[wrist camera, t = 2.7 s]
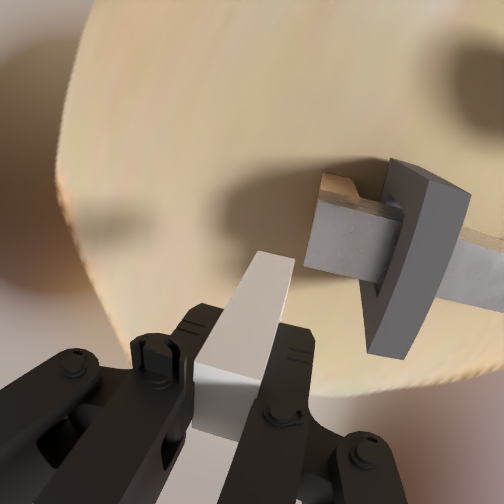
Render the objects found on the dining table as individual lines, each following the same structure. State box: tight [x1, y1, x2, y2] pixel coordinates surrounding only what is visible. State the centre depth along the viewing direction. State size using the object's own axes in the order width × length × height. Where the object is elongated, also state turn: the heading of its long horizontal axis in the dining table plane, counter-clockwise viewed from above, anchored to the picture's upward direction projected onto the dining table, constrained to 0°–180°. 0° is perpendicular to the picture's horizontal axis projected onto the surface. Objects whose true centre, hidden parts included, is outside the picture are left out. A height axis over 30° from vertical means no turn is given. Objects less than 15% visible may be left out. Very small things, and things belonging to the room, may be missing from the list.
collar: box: [359, 158, 471, 360], centre depth 19 cm, size 10×2×10 cm, turn 172°
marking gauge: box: [303, 172, 504, 313], centre depth 20 cm, size 5×24×8 cm, turn 82°
